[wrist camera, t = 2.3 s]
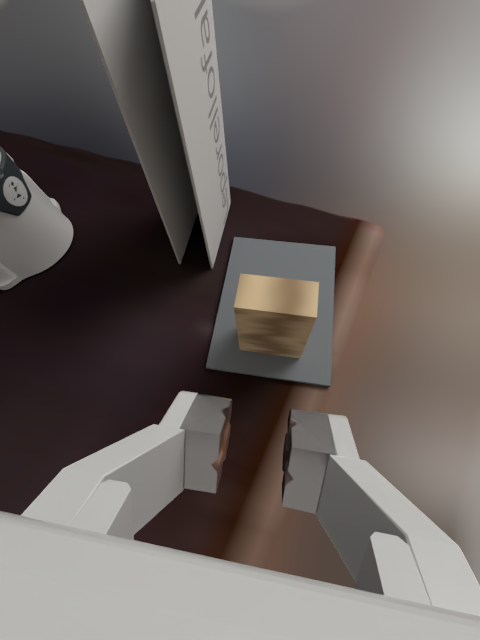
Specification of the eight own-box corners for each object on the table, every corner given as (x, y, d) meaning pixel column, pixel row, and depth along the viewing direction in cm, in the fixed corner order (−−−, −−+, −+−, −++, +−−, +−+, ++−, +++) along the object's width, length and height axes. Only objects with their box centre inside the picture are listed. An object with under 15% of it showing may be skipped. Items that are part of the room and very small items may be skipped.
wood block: (239, 350, 40) (233, 307, 29) (244, 323, 42) (240, 273, 31) (300, 358, 39) (317, 317, 29) (302, 330, 41) (319, 282, 30)
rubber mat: (206, 368, 40) (205, 367, 39) (234, 239, 49) (234, 237, 49) (329, 386, 38) (330, 385, 38) (334, 249, 47) (335, 246, 47)
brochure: (212, 268, 47) (154, 1, 20) (178, 264, 48) (78, 0, 21) (230, 202, 53) (204, -71, 26) (200, 199, 54) (144, -71, 27)
